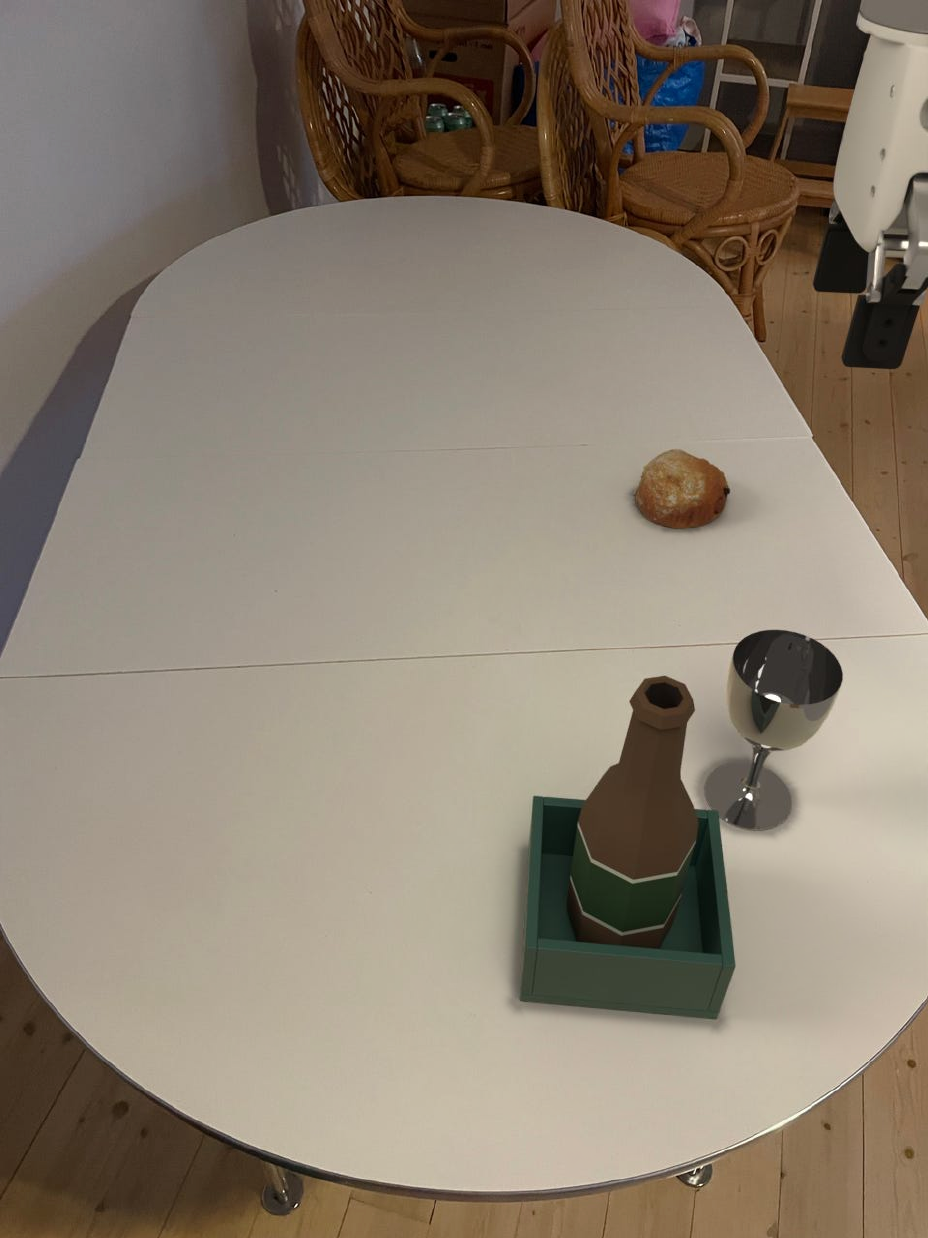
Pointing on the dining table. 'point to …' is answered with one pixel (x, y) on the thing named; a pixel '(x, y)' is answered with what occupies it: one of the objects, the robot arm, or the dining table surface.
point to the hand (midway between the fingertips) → (852, 326)
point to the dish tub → (623, 975)
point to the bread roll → (681, 490)
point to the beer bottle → (637, 828)
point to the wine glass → (771, 720)
